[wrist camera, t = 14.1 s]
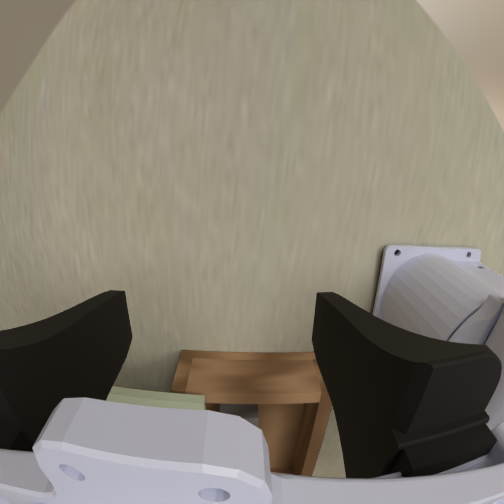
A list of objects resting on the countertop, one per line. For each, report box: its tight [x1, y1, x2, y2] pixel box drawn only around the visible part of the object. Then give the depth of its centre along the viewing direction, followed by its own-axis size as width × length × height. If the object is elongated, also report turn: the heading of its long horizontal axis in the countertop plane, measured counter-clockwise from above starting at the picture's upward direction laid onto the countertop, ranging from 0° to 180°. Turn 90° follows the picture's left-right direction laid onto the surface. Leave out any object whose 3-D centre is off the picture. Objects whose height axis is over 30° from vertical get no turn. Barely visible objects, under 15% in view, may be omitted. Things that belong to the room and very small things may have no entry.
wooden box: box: [171, 350, 332, 476], centre depth 25 cm, size 11×16×5 cm
